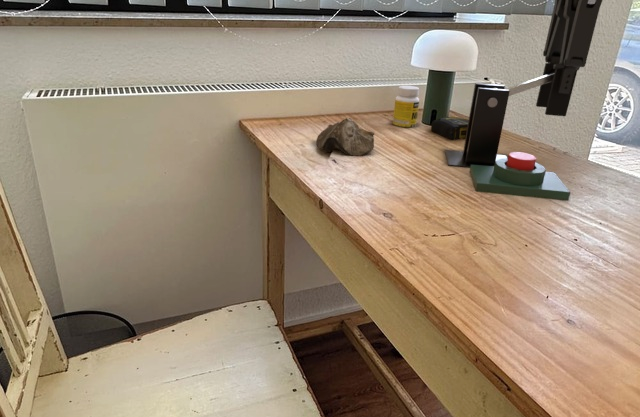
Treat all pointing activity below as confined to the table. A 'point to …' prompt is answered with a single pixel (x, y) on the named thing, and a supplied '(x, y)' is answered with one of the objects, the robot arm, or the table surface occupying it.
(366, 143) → the fossilized seashell
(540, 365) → the table surface
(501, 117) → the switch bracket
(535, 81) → the switch lever
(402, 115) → the supplement bottle
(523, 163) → the red button
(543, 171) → the button box
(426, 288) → the table surface
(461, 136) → the tape measure
